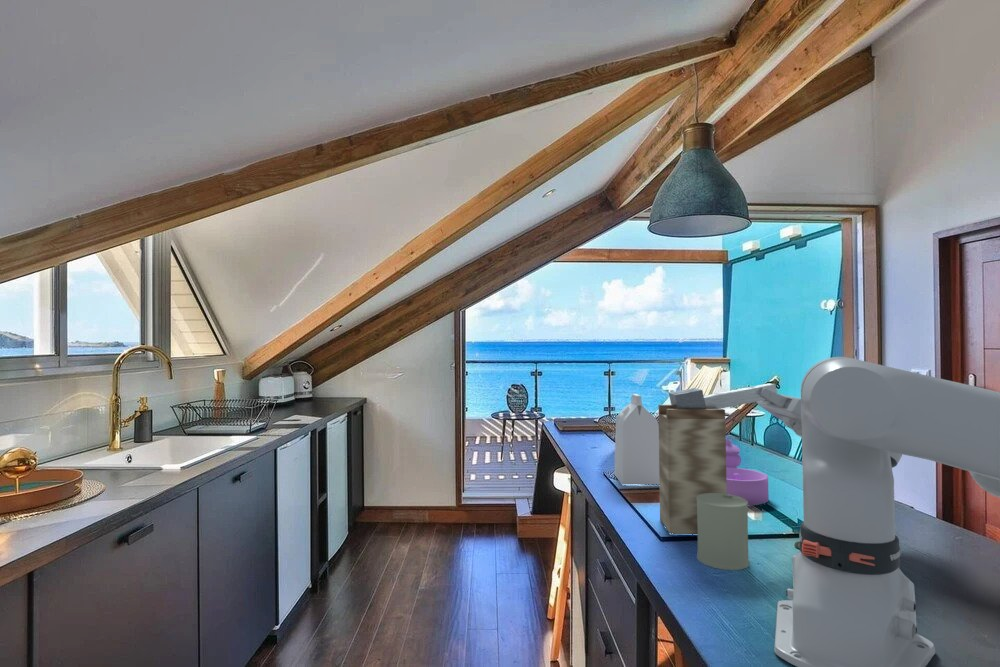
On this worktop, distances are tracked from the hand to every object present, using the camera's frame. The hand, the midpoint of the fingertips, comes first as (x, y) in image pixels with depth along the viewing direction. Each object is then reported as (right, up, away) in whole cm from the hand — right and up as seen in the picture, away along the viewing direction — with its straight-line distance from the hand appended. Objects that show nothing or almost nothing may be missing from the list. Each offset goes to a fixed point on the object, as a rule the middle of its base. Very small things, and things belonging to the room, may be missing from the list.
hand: (757, 390), depth 119 cm
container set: (+7, -32, +28) cm, 43 cm away
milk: (-16, -32, +42) cm, 55 cm away
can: (-15, -31, -18) cm, 39 cm away
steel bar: (-7, -4, +1) cm, 8 cm away
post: (-15, -31, 0) cm, 34 cm away
